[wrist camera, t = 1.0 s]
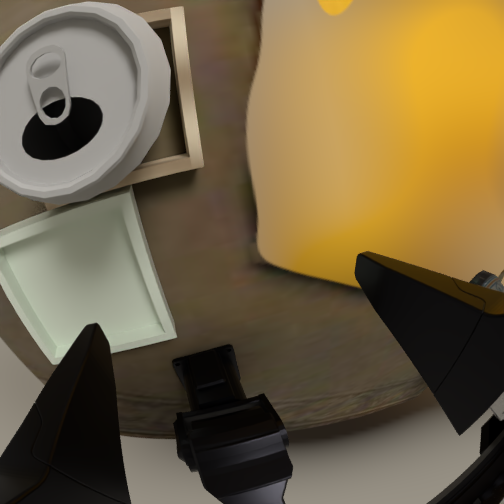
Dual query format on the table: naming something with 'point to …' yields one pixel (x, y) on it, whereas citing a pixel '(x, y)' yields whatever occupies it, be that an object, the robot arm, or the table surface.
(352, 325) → the table surface
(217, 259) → the table surface
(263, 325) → the table surface
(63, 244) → the tray
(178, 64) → the holder
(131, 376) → the table surface
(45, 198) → the can
